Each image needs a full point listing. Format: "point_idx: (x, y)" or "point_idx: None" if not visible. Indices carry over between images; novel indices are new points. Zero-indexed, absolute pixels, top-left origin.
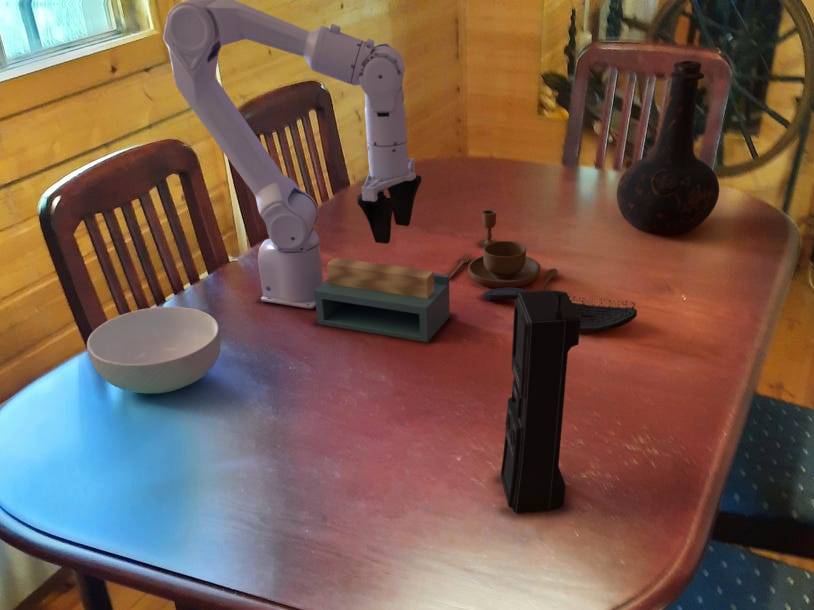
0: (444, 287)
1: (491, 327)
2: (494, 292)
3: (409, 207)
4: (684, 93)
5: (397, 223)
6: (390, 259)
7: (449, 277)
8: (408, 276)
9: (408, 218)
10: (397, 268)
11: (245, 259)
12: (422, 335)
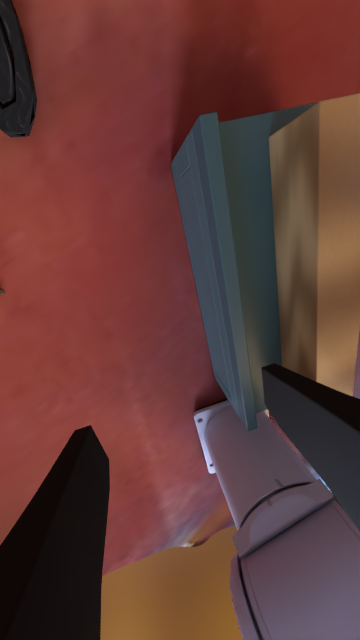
0: (228, 123)
1: (160, 9)
2: (4, 80)
3: (60, 508)
4: None
5: (106, 460)
6: (27, 438)
7: (1, 291)
8: None
9: (83, 450)
10: (333, 250)
11: (177, 542)
12: None
